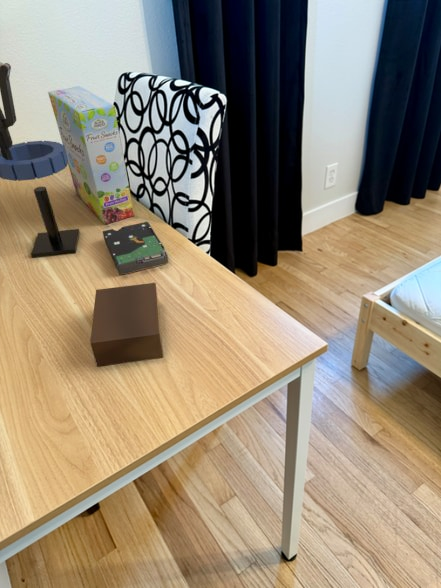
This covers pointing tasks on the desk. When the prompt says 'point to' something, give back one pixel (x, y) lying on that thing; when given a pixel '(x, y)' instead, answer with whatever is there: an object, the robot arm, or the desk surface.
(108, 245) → the disk drive
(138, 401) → the desk surface
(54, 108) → the snack box
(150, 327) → the stand
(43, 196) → the post
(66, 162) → the ring
